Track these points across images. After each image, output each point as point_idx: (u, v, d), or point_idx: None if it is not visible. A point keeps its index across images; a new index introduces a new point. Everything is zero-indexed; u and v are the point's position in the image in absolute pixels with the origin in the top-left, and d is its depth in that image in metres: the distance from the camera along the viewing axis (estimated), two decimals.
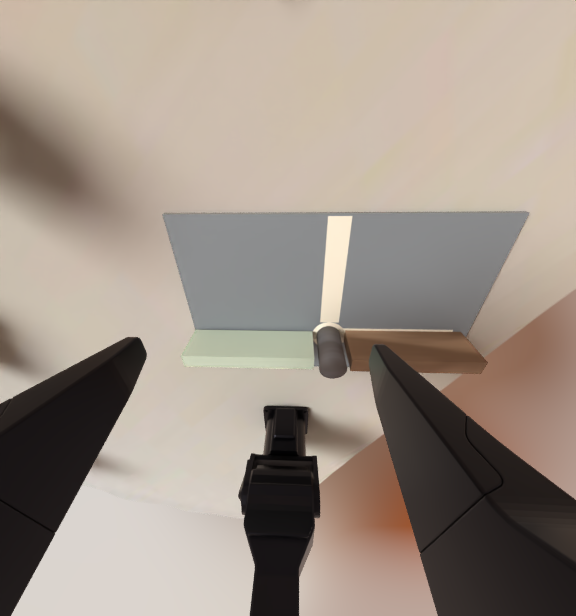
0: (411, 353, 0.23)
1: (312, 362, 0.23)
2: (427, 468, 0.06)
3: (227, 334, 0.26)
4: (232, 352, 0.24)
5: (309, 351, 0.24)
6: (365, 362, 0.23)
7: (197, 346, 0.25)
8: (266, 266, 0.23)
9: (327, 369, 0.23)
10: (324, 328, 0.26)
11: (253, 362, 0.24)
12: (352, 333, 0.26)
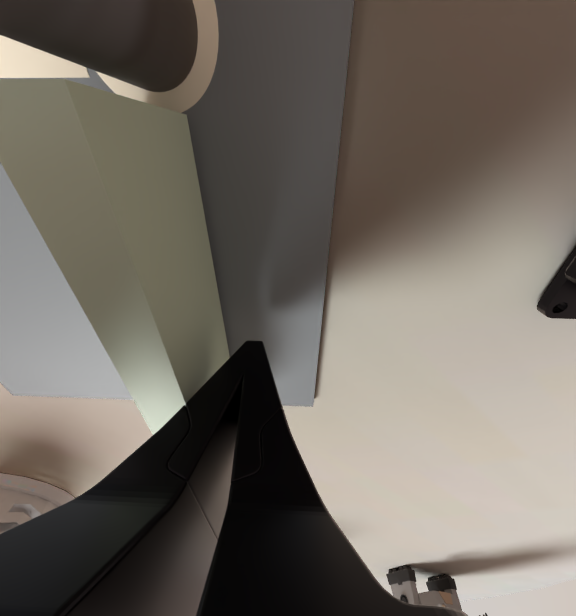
0: None
1: None
2: None
3: None
4: None
5: None
6: None
7: None
8: None
9: None
10: None
11: (147, 380, 0.06)
12: None
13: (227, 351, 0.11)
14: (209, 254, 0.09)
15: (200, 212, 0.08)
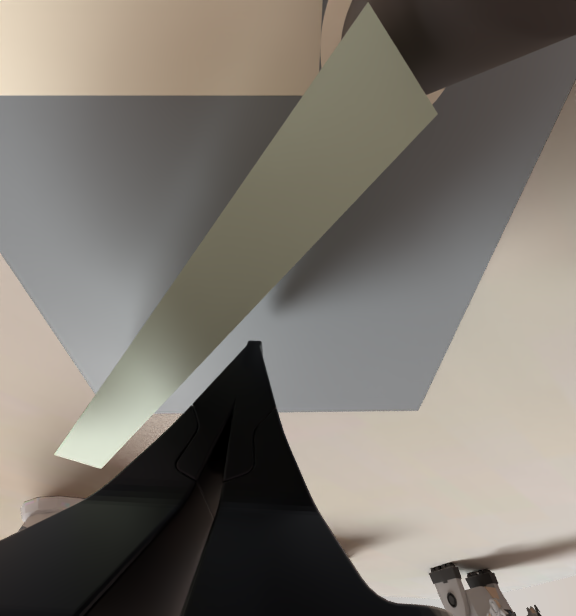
0: None
1: (383, 56, 0.03)
2: None
3: None
4: None
5: None
6: None
7: None
8: (141, 279, 0.09)
9: None
10: None
11: (175, 339, 0.05)
12: None
13: None
14: None
15: None
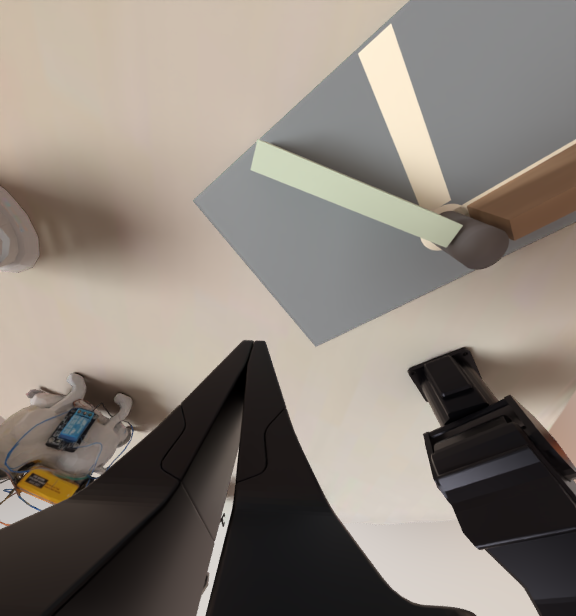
0: None
1: (455, 232, 0.15)
2: None
3: None
4: (340, 174, 0.14)
5: None
6: (535, 211, 0.14)
7: (280, 148, 0.14)
8: None
9: (474, 256, 0.15)
10: None
11: (370, 201, 0.14)
12: (481, 201, 0.17)
13: None
14: None
15: None
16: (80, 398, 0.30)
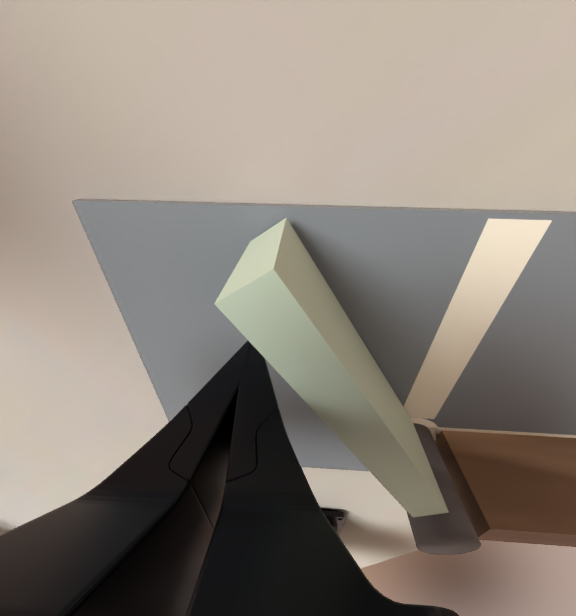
0: None
1: (435, 513, 0.10)
2: None
3: (340, 310, 0.09)
4: (370, 392, 0.07)
5: (436, 482, 0.11)
6: (516, 533, 0.11)
7: (306, 284, 0.06)
8: None
9: (433, 546, 0.11)
10: None
11: (380, 451, 0.08)
12: (459, 440, 0.14)
13: None
14: None
15: None
16: None
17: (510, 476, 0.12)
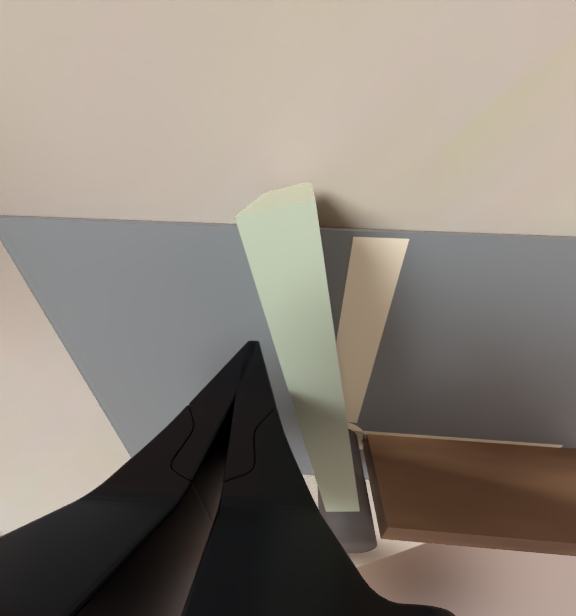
0: (503, 510, 0.12)
1: (348, 510, 0.11)
2: None
3: None
4: None
5: None
6: (414, 532, 0.11)
7: None
8: (221, 328, 0.11)
9: None
10: None
11: (327, 435, 0.08)
12: (381, 443, 0.14)
13: None
14: None
15: None
16: None
17: (421, 478, 0.13)
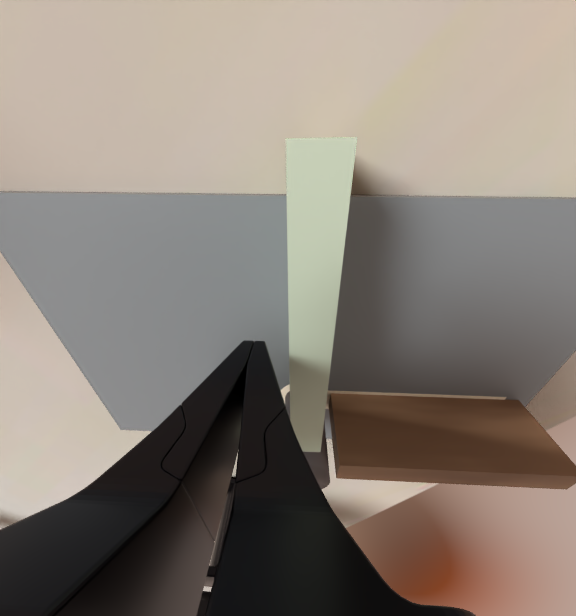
0: (443, 449, 0.13)
1: (310, 450, 0.12)
2: None
3: None
4: None
5: None
6: (363, 469, 0.13)
7: None
8: (185, 293, 0.13)
9: None
10: None
11: (311, 370, 0.09)
12: (342, 400, 0.16)
13: None
14: None
15: None
16: None
17: (374, 427, 0.14)
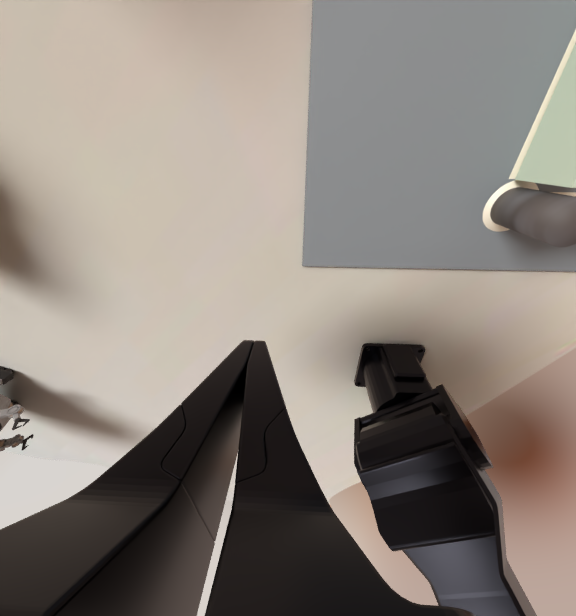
0: None
1: None
2: None
3: None
4: None
5: None
6: None
7: None
8: (466, 45, 0.13)
9: (562, 227, 0.14)
10: (514, 189, 0.17)
11: None
12: None
13: None
14: (550, 105, 0.14)
15: (538, 135, 0.15)
16: None
17: None
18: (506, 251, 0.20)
